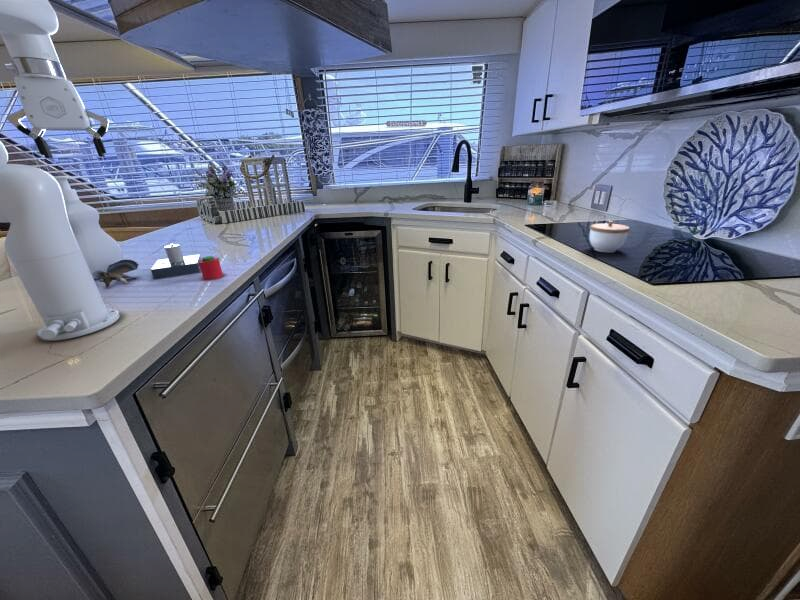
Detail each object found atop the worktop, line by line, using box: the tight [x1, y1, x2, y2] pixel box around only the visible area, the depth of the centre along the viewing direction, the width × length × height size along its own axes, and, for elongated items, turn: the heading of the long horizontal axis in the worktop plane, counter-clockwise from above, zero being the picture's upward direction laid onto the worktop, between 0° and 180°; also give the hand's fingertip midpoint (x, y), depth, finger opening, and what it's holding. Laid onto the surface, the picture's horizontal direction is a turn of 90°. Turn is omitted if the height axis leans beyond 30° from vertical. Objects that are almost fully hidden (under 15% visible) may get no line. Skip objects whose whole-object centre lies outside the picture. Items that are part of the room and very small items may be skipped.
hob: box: [150, 254, 202, 280], centre depth 102 cm, size 12×12×3 cm
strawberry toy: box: [198, 255, 224, 281], centre depth 94 cm, size 5×5×6 cm
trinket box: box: [588, 220, 631, 253], centre depth 104 cm, size 11×11×9 cm
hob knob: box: [163, 243, 184, 263], centre depth 101 cm, size 4×4×5 cm
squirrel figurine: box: [93, 259, 139, 289], centre depth 92 cm, size 8×7×9 cm
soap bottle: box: [52, 175, 124, 280], centre depth 96 cm, size 17×12×29 cm
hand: (76, 157), depth 77 cm, fingers open, 9 cm apart
